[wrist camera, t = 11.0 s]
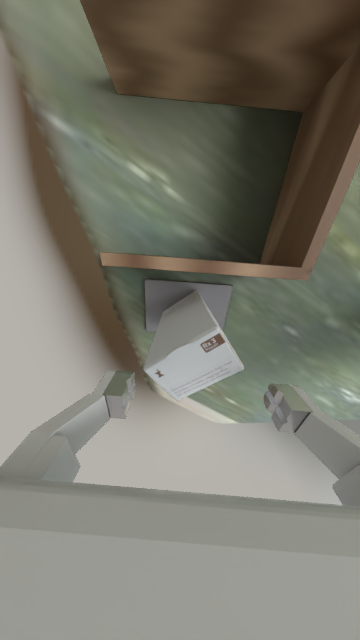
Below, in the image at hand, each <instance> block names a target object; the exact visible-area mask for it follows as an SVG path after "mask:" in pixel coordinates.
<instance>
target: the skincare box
mask: <svg viewBox="0 0 360 640" xmlns="http://www.w3.org/2000/svg"><path fill="white" fill-rule="evenodd" d="M143 369H144V371H145V372H146V373H147V374H148V375H149V376H150V377H151V378H152V379H153V380H154V381H155V382H156V383H157V384H158V385H159V386H160V387H161V388H163V389H164V390H165V391H166V392H167V393H168V394H169V395H170V396H171V397H173V398H174V399H175V400H176V401H178V400H180V399H182V398H184V397H186V396H188V395H190V394H193V393H195V392H197V391H199V390H201V389H203V388H205V387H207V386H210V385H212V384H214V383H216V382H218V381H220V380H222V379H224V378H227V377H229V376H231V375H233V374H235V373H237V372H240V371H242V370H244V366H243V364H242V362H241V361H240V359H239V357H238V356H237V354H236V352H235V351H234V349H233V347H232V346H231V344H230V343H229V341H228V339H227V338H226V336H225V334H224V333H223V331H222V329H221V328H220V326H219V324H218V323H217V321H216V319H215V318H214V316H213V314H212V313H211V311H210V310H209V308H208V307H207V305H206V303H205V302H204V300H203V299H202V297H201V295H200V293H199V292H198V290H195V291H194V292H192V293H191V294H189V295H188V296H186V297H185V298H183V299H182V300H180V301H179V302H177V303H176V304H174V305H172V306H171V307H169V308H168V309H166V310H165V311H164V312H163V313H162V316H161V319H160V322H159V325H158V328H157V330H156V333H155V336H154V339H153V342H152V344H151V347H150V350H149V353H148V356H147V358H146V361H145V364H144V367H143Z"/></svg>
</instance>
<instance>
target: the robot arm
mask: <svg viewBox="0 0 360 640" xmlns="http://www.w3.org/2000/svg"><path fill="white" fill-rule="evenodd" d="M134 379H135V373H133V372H125V371H115V370H108V371H107V372H106V374H105V375H104V376H103V378H102V380H101V381H100V383H99V384H98V385H97V387H96V388H95V390H94V391H93V393H92V394H88V395H87V396H85V397H84V398H82V399H81V400H79V401H77V402H76V403H74V404H73V405H71V406H70V407H68V408H67V409H65V410H64V411H62V412H61V413H59V414H58V415H56V416H54V417H53V418H51V419H50V420H48V421H47V422H45V423H44V424H42V425H41V426H39V427H38V428H36V429H35V430H33V431H31V433H30V434H29V435H28V436H27V437H26V438H25V439H24V440H23V442H22V443H21V444H20V445H19V446H18V447H17V449H16V450H15V451H14V452H13V453H12V454H11V455H10V456H9V458H8V459H7V460H6V461H5V462H4V463H3V465H2V466H1V467H0V640H360V436H359V435H357V434H356V433H354V432H353V431H351V430H350V429H348V428H347V427H345V426H344V425H342V424H341V423H339V422H338V421H336V420H335V419H333V418H332V417H330V416H329V415H327V414H324V413H323V412H322V411H321V410H320V409H319V408H318V407H317V405H316V404H315V403H314V402H313V401H312V400H311V399H310V397H309V396H308V395H307V394H306V393H305V392H304V390H303V389H302V388H301V387H299V386H298V385H285V384H270V385H269V386H268V389H269V391H268V392H266V393H265V395H264V404H265V407H266V409H267V410H268V411H269V412H270V413H271V414H272V420H273V422H274V424H275V426H276V428H277V430H278V431H279V432H288V433H295V435H296V436H297V437H298V438H299V439H300V440H301V441H302V442H303V443H304V444H305V445H306V447H308V449H310V450H311V452H312V453H313V454H314V455H315V456H317V457H318V459H319V460H320V461H321V462H322V463H323V464H324V465H325V466H326V467H327V468H328V469H330V471H331V472H332V473H333V474H334V475H335V476H336V477H337V478H338V479H339V480H338V481H337V482H336V483H334V484H333V490H334V491H335V493H336V495H337V496H338V498H339V499H340V501H341V503H342V504H343V505H334V504H321V503H310V502H298V501H286V500H274V499H263V498H251V497H239V496H227V495H215V494H204V493H191V492H179V491H168V490H156V489H144V488H133V487H120V486H109V485H96V484H85V483H73V481H74V479H75V477H76V474H77V473H78V470H79V468H80V463H79V461H78V460H77V457H76V455H75V454H76V453H77V452H78V451H79V449H81V448H82V447H83V446H84V445H85V444H86V443H87V442H88V441H89V440H90V438H91V437H93V436H94V435H95V434H96V433H97V431H99V430H100V428H102V426H104V424H105V423H106V422H107V421H108V420H109V419H110V418H121V419H122V418H123V419H125V418H126V417H127V414H128V411H129V408H130V401H131V400H132V399H133V397H134V395H135V390H136V382H135V381H134Z"/></svg>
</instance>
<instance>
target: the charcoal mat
mask: <svg viewBox="0 0 360 640" xmlns="http://www.w3.org/2000/svg"><path fill="white" fill-rule="evenodd" d="M232 288H233V286H232V285H222V284H209V283H195V282H181V281H168V280H154V279H145V308H146V331H147V332H156V330H157V328H158V325H159V322H160V319H161V316H162V313H163V312H164V311H165V310H166V309H168V308H169V307H171V306H172V305H174V304H176V303H177V302H179V301H180V300H182V299H183V298H185V297H186V296H188V295H189V294H191V293H192V292H194V291H195V290H198V292H199V293H200V295H201V297H202V299H203V300H204V302H205V303H206V305H207V307H208V308H209V310H210V311H211V313H212V314H213V316H214V318H215V319H216V321H217V323H218V324H219V326H220V328H221V329H222V331H223V328H224V324H225V319H226V315H227V310H228V306H229V301H230V297H231V293H232Z"/></svg>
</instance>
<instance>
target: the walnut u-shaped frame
mask: <svg viewBox="0 0 360 640" xmlns="http://www.w3.org/2000/svg"><path fill="white" fill-rule="evenodd" d="M80 2H81V4H82V7H83V9H84V12H85V14H86V17H87V19H88V22H89V24H90V27H91V29H92V32H93V34H94V37H95V39H96V42H97V44H98V47H99V49H100V52H101V54H102V57H103V59H104V62H105V64H106V67H107V69H108V72H109V75H110V77H111V80H112V82H113V85H114V87H115V90H116V92H117V94H125V95H135V96H145V97H155V98H165V99H175V100H186V101H196V102H206V103H216V104H226V105H237V106H247V107H257V108H267V109H277V110H288V111H298V112H303V113H302V117H301V120H300V124H299V128H298V131H297V135H296V138H295V142H294V145H293V149H292V152H291V156H290V159H289V163H288V166H287V170H286V173H285V177H284V180H283V184H282V187H281V191H280V194H279V198H278V201H277V205H276V208H275V212H274V215H273V219H272V222H271V226H270V229H269V233H268V236H267V240H266V243H265V247H264V250H263V254H262V257H261V261H260V264H257V263H244V262H231V261H218V260H205V259H192V258H179V257H166V256H153V255H140V254H125V253H103V252H100V255H101V262H102V265H105V266H119V267H132V268H145V269H159V270H172V271H185V272H199V273H212V274H226V275H239V276H252V277H266V278H279V279H292V280H306V281H308V279H309V276H310V274H311V272H312V269H313V267H314V265H315V263H316V260H317V258H318V256H319V253H320V251H321V249H322V247H323V244H324V242H325V240H326V237H327V235H328V233H329V231H330V228H331V226H332V224H333V221H334V219H335V217H336V215H337V212H338V210H339V208H340V205H341V203H342V201H343V199H344V196H345V194H346V192H347V190H348V187H349V185H350V183H351V180H352V178H353V176H354V174H355V171H356V169H357V167H358V164H359V162H360V0H80Z"/></svg>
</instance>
